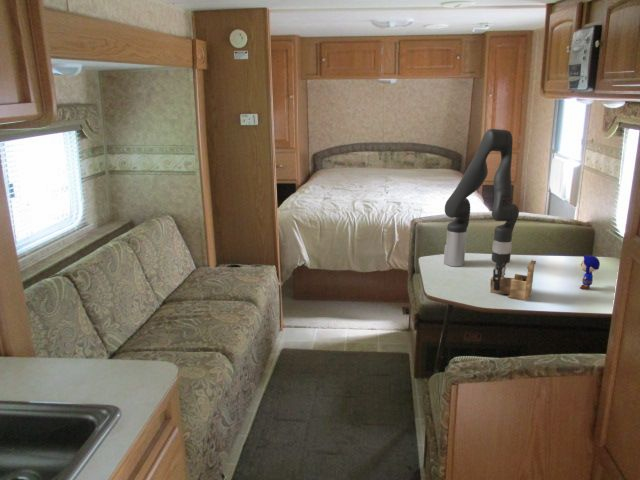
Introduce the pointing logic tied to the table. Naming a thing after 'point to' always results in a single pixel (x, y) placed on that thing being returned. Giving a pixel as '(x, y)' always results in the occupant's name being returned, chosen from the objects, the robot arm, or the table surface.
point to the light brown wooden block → (503, 285)
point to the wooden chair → (522, 284)
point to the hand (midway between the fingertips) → (498, 287)
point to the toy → (589, 270)
